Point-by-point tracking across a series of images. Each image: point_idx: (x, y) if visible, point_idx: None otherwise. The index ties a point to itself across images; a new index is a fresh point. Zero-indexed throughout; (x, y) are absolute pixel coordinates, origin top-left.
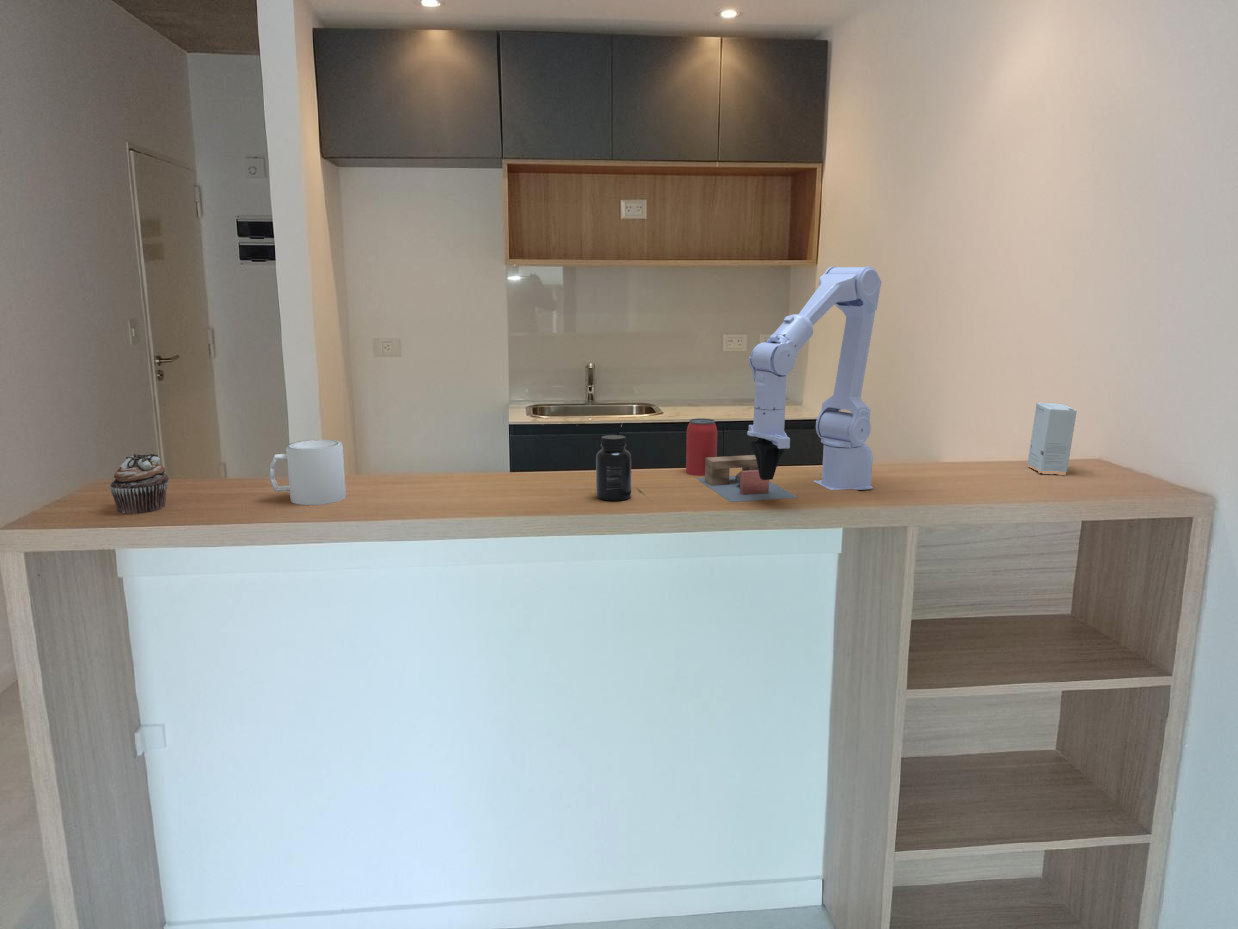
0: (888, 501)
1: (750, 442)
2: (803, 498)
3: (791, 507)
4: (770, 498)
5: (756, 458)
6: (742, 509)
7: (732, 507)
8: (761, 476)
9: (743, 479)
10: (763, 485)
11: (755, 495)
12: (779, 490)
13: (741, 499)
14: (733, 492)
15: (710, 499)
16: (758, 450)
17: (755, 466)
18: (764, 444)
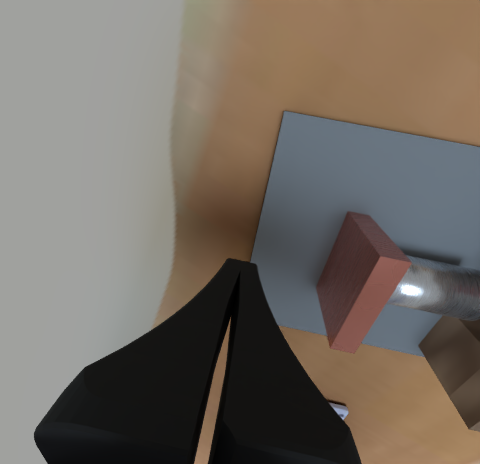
0: None
1: (331, 461)
2: None
3: (189, 263)
4: (260, 258)
5: (269, 326)
6: (216, 122)
7: (253, 101)
8: (234, 264)
9: (365, 241)
10: (325, 290)
11: (312, 242)
12: (321, 321)
13: (293, 172)
14: (393, 202)
15: (405, 77)
16: (160, 365)
17: (477, 373)
18: (75, 458)
